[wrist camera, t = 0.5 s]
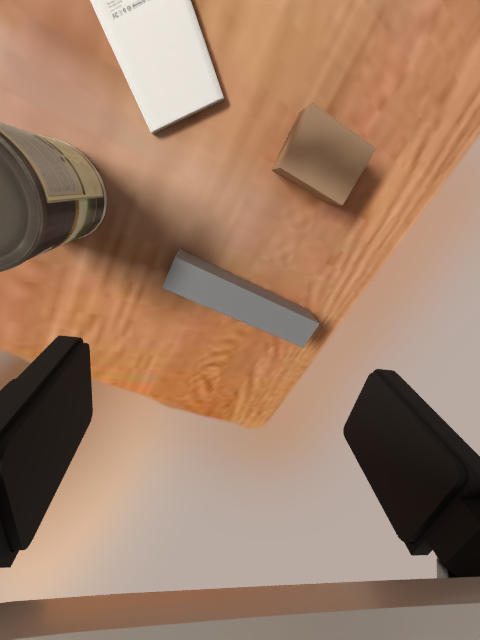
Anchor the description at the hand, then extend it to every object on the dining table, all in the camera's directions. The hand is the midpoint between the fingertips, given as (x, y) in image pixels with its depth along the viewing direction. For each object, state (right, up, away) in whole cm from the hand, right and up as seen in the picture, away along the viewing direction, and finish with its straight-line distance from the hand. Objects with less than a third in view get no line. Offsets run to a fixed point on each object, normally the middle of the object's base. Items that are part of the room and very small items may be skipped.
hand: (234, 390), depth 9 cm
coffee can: (-20, +17, +21) cm, 34 cm away
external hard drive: (-8, +29, +17) cm, 35 cm away
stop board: (0, +6, +29) cm, 29 cm away
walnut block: (+9, +21, +23) cm, 32 cm away
